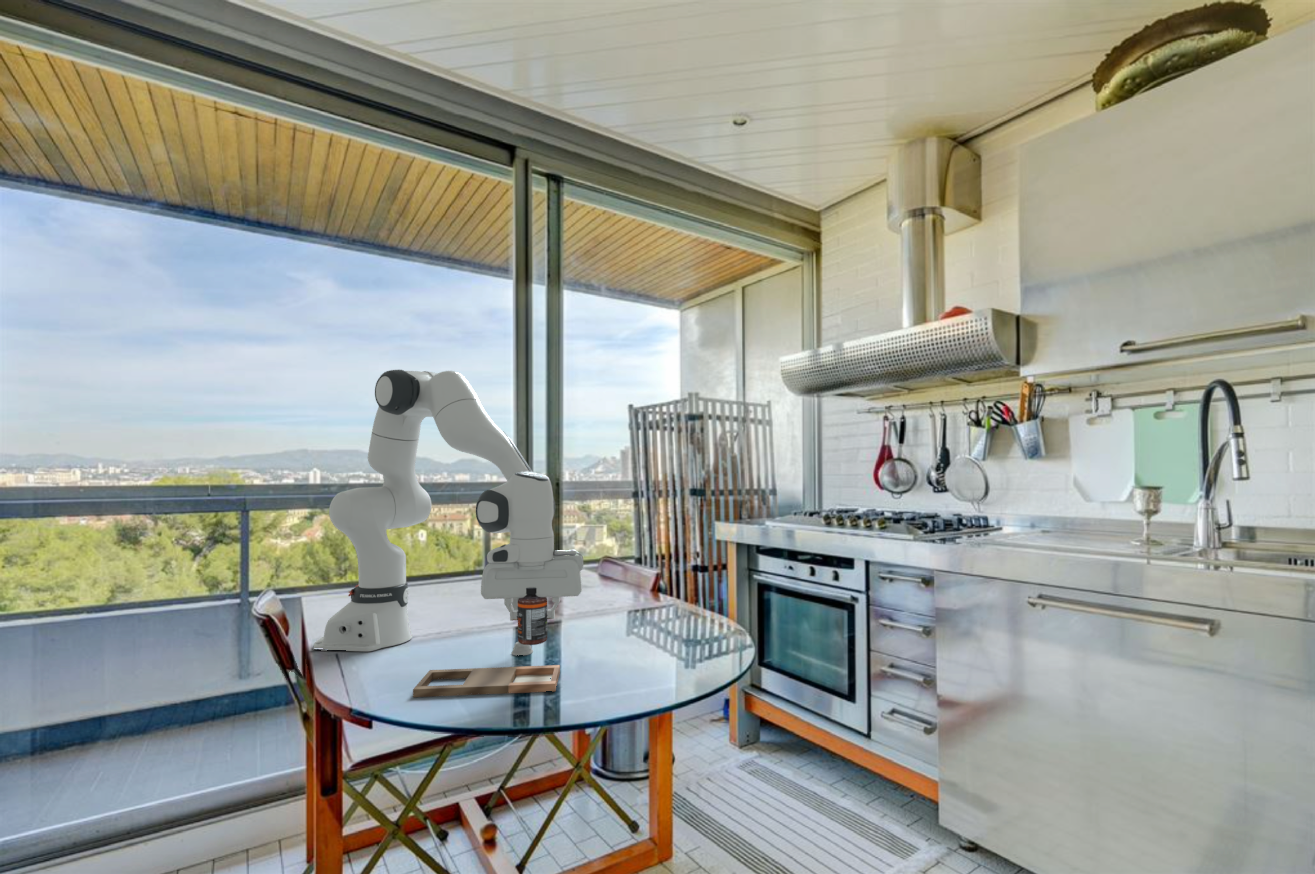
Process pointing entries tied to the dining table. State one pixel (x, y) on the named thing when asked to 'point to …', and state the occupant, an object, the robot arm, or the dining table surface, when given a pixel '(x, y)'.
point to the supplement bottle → (532, 618)
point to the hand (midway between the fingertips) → (532, 619)
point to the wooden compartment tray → (490, 681)
